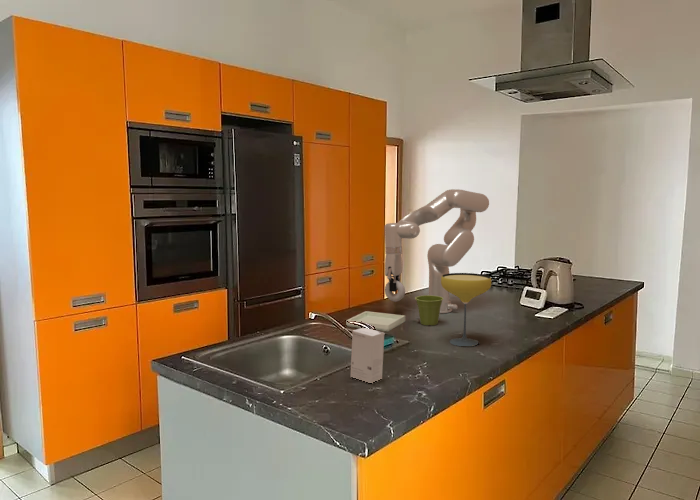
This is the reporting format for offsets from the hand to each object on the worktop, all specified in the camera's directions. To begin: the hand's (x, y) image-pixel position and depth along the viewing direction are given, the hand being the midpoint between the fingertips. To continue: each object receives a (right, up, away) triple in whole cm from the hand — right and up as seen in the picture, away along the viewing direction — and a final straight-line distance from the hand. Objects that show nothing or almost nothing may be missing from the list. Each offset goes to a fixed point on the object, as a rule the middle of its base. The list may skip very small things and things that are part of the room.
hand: (394, 290), depth 239 cm
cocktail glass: (+22, -17, -43) cm, 51 cm away
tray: (-9, -13, -15) cm, 22 cm away
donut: (0, -5, +1) cm, 6 cm away
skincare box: (-15, -21, -81) cm, 85 cm away
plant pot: (+13, -13, -15) cm, 24 cm away
